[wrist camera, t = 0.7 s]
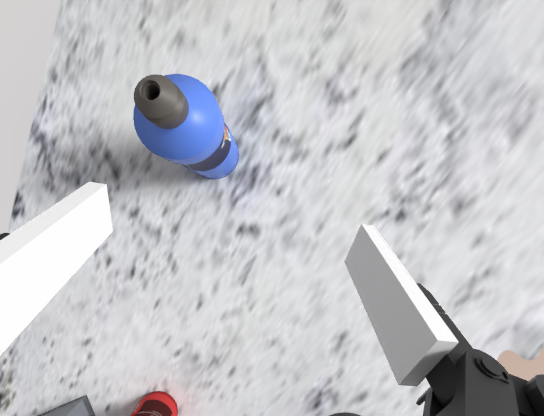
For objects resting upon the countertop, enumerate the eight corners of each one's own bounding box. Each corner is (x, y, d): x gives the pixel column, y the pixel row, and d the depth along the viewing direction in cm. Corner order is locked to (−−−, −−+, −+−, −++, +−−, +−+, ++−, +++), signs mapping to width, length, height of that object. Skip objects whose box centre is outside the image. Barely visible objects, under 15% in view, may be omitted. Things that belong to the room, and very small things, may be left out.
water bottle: (202, 187, 46) (123, 163, 21) (181, 142, 46) (75, 63, 21) (248, 166, 46) (223, 116, 21) (226, 121, 46) (176, 16, 21)
